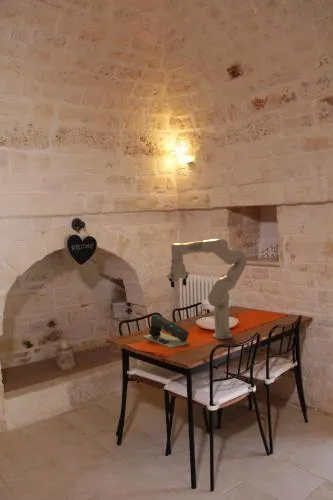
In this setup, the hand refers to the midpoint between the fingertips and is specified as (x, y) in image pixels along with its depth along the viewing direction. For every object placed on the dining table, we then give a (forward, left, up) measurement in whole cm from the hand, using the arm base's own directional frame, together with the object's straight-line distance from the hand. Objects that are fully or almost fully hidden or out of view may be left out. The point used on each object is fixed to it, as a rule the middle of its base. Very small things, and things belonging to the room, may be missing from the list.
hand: (178, 286), depth 330 cm
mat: (-9, +19, -32) cm, 39 cm away
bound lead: (-11, +24, -32) cm, 41 cm away
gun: (-10, +16, -32) cm, 37 cm away
